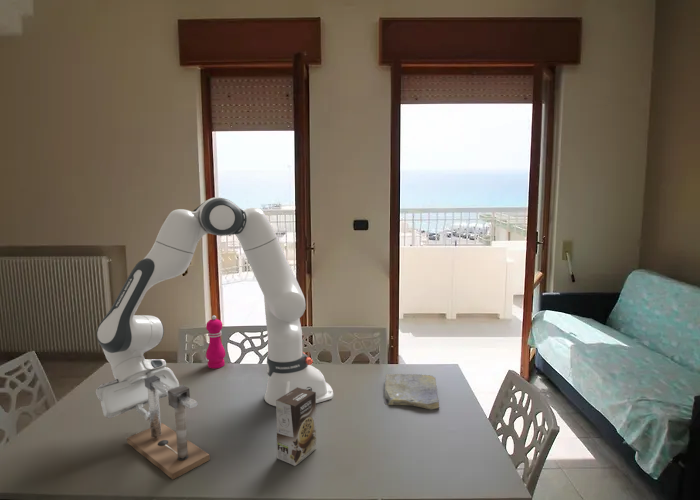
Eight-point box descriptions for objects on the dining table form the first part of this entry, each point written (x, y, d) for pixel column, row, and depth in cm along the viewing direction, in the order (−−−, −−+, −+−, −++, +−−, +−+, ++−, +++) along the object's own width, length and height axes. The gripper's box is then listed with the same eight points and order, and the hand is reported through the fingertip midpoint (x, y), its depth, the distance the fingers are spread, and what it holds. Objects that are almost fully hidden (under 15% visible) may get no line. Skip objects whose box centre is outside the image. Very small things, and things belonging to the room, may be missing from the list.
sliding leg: (148, 437, 122) (144, 378, 120) (158, 433, 125) (154, 375, 122) (191, 469, 109) (187, 403, 106) (202, 463, 111) (198, 399, 108)
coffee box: (296, 467, 113) (294, 406, 110) (276, 458, 116) (274, 399, 114) (317, 448, 120) (316, 391, 118) (298, 441, 124) (297, 385, 121)
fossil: (384, 413, 141) (440, 412, 139) (383, 399, 141) (439, 398, 139) (386, 386, 161) (435, 385, 159) (385, 373, 161) (434, 372, 159)
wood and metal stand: (127, 442, 123) (121, 374, 120) (162, 427, 131) (157, 362, 128) (172, 479, 108) (167, 401, 105) (209, 460, 116) (205, 386, 113)
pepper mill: (220, 369, 171) (218, 318, 168) (202, 368, 172) (200, 317, 169) (229, 362, 178) (227, 313, 175) (212, 361, 179) (209, 312, 176)
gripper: (95, 381, 118) (115, 429, 114) (169, 357, 134) (189, 399, 129) (90, 392, 122) (109, 439, 117) (163, 368, 137) (182, 408, 133)
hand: (152, 417), depth 123 cm, fingers closed, pressing on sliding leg
